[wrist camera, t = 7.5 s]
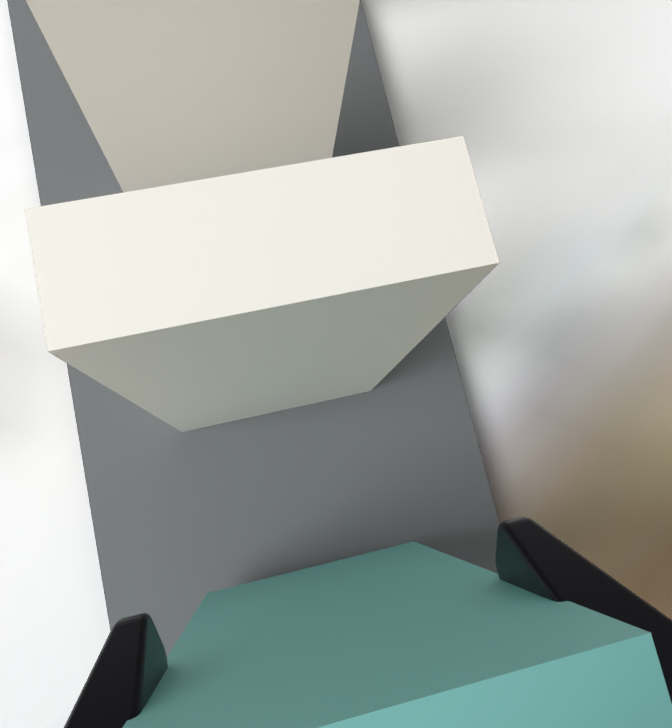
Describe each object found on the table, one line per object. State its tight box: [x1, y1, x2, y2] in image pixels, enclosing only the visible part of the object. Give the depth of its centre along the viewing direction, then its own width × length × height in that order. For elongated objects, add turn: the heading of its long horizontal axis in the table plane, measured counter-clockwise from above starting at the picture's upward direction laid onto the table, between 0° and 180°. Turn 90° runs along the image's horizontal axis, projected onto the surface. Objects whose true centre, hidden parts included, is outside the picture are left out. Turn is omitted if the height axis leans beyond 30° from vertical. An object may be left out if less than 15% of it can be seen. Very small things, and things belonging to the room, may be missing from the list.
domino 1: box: [26, 0, 360, 192], centre depth 13 cm, size 2×5×10 cm, turn 103°
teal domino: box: [123, 541, 672, 728], centre depth 10 cm, size 2×5×10 cm, turn 103°
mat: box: [7, 0, 500, 656], centre depth 18 cm, size 33×10×1 cm, turn 13°
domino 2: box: [25, 136, 499, 432], centre depth 12 cm, size 2×5×10 cm, turn 103°
